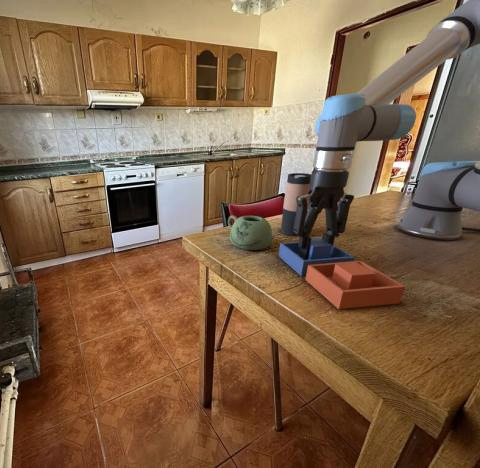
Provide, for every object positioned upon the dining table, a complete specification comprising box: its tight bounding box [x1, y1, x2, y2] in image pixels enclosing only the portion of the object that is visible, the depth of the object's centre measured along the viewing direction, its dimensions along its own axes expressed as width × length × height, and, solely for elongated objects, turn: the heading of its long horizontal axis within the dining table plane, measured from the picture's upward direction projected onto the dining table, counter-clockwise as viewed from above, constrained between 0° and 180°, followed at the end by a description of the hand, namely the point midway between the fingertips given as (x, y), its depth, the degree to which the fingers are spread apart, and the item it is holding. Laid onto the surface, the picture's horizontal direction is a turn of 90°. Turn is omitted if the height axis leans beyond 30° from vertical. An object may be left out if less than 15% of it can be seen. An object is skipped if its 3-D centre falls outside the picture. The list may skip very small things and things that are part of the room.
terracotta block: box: [332, 263, 375, 290], centre depth 56 cm, size 5×5×5 cm
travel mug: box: [280, 172, 312, 237], centre depth 87 cm, size 8×8×20 cm
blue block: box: [308, 237, 332, 260], centre depth 68 cm, size 5×5×5 cm
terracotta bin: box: [305, 260, 406, 310], centre depth 56 cm, size 13×11×4 cm
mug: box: [227, 215, 273, 251], centre depth 82 cm, size 16×13×9 cm
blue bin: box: [278, 241, 355, 277], centre depth 68 cm, size 13×11×4 cm
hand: (313, 258), depth 68 cm, fingers closed on blue block, 5 cm apart
